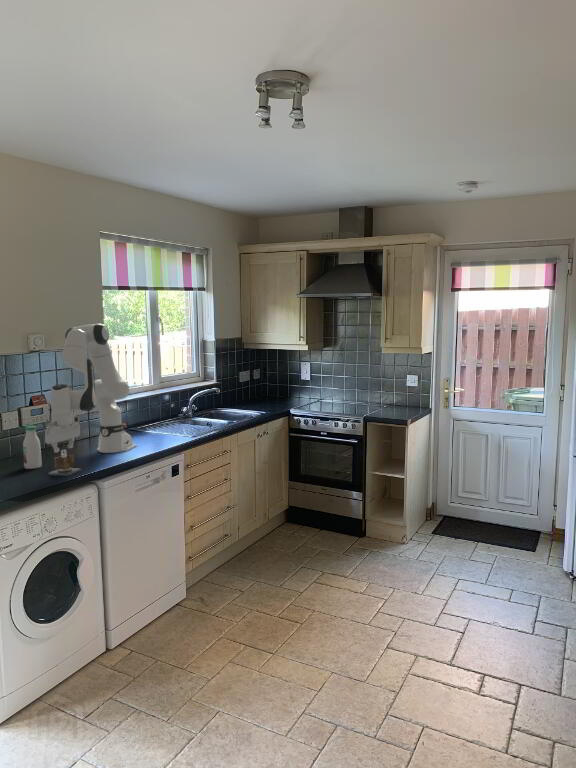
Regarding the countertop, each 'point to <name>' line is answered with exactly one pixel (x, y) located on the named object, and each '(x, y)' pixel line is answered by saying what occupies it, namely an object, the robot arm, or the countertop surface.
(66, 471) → the post
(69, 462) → the collar
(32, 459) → the milk bottle
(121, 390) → the robot arm
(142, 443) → the countertop surface
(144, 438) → the countertop surface
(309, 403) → the countertop surface
